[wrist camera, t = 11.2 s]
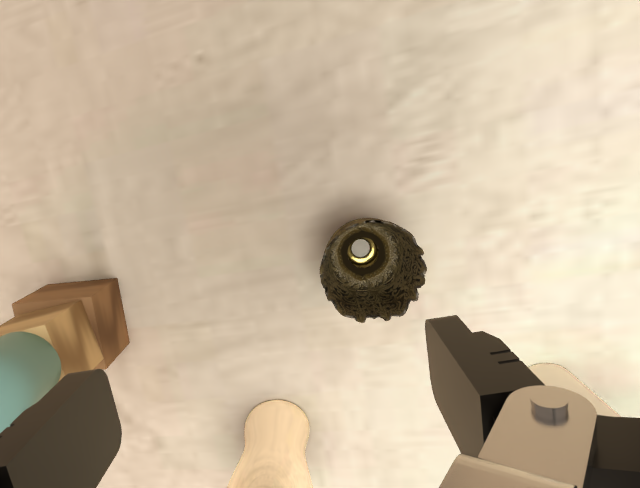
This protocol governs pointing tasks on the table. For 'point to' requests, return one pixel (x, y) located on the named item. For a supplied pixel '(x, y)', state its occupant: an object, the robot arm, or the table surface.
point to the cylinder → (25, 373)
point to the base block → (87, 311)
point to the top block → (62, 334)
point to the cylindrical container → (570, 385)
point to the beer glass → (274, 448)
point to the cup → (372, 270)
